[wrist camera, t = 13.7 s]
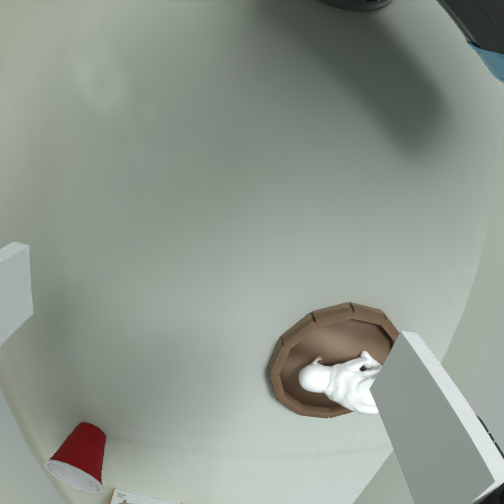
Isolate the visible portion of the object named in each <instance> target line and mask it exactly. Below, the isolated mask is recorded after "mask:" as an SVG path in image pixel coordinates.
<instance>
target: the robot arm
mask: <svg viewBox="0 0 504 504" xmlns="http://www.w3.org/2000/svg"><path fill="white" fill-rule="evenodd" d="M319 1H322V2H324V3H326V4H329V5H332V6H335V7H338V8H342V9H347V10H355V11H367V10H374V9H378V8H381V7H383V6H385V5H387V4H388V3H389V2H390V1H392V0H319ZM436 1H437V2H438V3H439V4H440V5H441V6H442V7H443V9H444V10H445V11H446V12H447V13H448V15H449V16H450V17H451V18H452V20H453V21H454V22H455V24H456V25H457V26H458V28H459V29H460V30H461V32H462V33H463V35H464V36H465V37H466V41H467V43H468V44H469V45H470V46H471V47H472V48H473V49H474V50H475V51H476V52H477V54H478V55H479V56H480V58H481V59H482V60H483V62H484V63H485V65H486V66H487V68H488V69H489V70H490V72H491V73H492V74H493V75H494V76H495V77H496V78H497V79H499V80H500V81H502V82H504V0H436ZM33 314H34V312H33V302H32V291H31V276H30V250H29V245H25V244H22V243H19V242H16V241H14V242H12V243H10V244H8V245H6V246H4V247H3V248H1V249H0V346H1V345H2V344H3V343H4V342H5V341H6V340H7V339H8V338H9V337H10V336H11V335H12V334H13V333H14V332H15V331H16V330H17V329H18V328H19V327H20V326H21V325H22V324H23V323H24V322H25V321H26V320H27V319H28V318H29V317H30V316H32V315H33ZM369 390H370V392H371V395H372V397H373V399H374V402H375V404H376V407H377V409H378V411H379V414H380V416H381V419H382V421H383V423H384V426H385V428H386V431H387V433H388V436H389V438H390V441H391V443H392V446H393V448H394V451H395V453H396V456H397V458H398V461H399V464H400V466H401V469H402V471H403V474H404V476H405V479H406V482H407V485H408V488H409V490H410V493H411V496H412V498H413V501H414V504H504V455H503V453H502V451H501V450H500V448H499V446H498V445H497V443H496V442H495V443H494V439H493V437H492V435H491V434H490V433H488V429H487V428H486V426H485V424H484V423H483V421H482V420H481V419H480V418H479V417H478V416H477V415H476V414H475V413H474V412H473V410H472V409H471V407H470V406H469V404H468V403H467V401H466V400H465V398H464V397H463V396H462V394H461V393H460V391H459V390H458V388H457V387H456V385H455V384H454V383H453V381H452V380H451V378H450V377H449V376H448V374H447V373H446V372H445V370H444V369H443V367H442V366H441V365H440V363H439V362H438V360H437V359H436V358H435V356H434V355H433V354H432V352H431V351H430V350H429V348H428V347H427V346H426V344H425V343H424V342H423V341H422V339H421V338H420V337H419V335H418V334H417V333H411V332H404V331H401V332H400V334H399V336H398V338H397V340H396V342H395V343H394V345H393V347H392V349H391V351H390V353H389V355H388V357H387V359H386V360H385V362H384V364H383V366H382V368H381V370H380V371H379V373H378V375H377V377H376V378H375V380H374V382H373V383H372V385H371V387H370V389H369Z"/></svg>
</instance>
